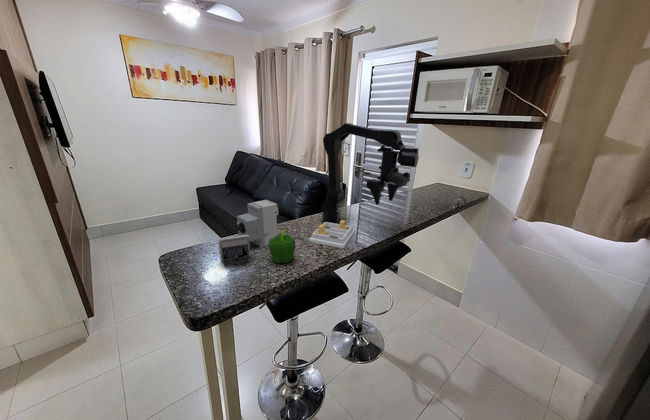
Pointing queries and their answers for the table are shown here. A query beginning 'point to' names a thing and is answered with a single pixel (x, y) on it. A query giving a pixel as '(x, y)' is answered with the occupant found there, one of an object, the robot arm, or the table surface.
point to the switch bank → (333, 235)
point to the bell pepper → (282, 247)
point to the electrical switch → (234, 249)
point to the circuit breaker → (259, 222)
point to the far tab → (342, 225)
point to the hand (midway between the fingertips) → (384, 202)
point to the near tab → (321, 229)
